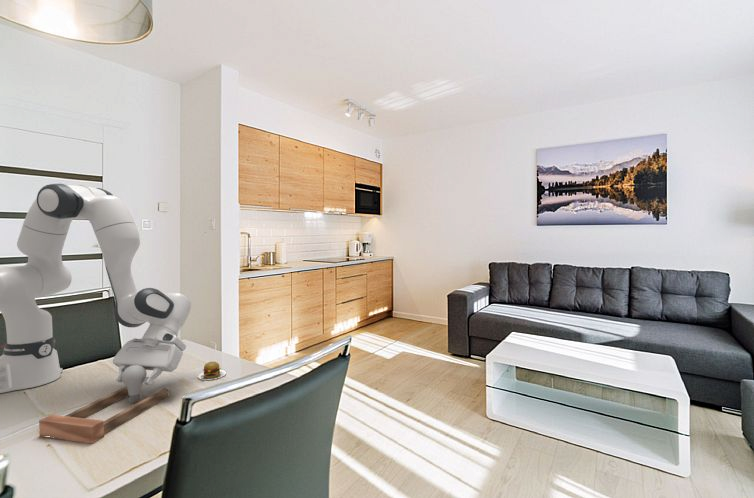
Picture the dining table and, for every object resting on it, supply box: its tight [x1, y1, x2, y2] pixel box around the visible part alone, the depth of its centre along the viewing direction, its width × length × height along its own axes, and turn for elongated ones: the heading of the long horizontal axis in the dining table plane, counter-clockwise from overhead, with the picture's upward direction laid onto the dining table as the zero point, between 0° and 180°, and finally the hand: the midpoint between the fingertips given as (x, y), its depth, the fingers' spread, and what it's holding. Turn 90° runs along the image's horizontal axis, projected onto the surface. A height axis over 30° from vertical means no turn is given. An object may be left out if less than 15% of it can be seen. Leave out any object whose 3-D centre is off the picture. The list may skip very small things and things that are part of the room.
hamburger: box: [197, 361, 227, 381], centre depth 128 cm, size 12×12×6 cm
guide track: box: [38, 386, 169, 444], centre depth 100 cm, size 25×16×4 cm, turn 169°
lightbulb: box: [121, 365, 147, 403], centre depth 108 cm, size 6×6×11 cm
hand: (133, 382), depth 107 cm, fingers open, 8 cm apart
